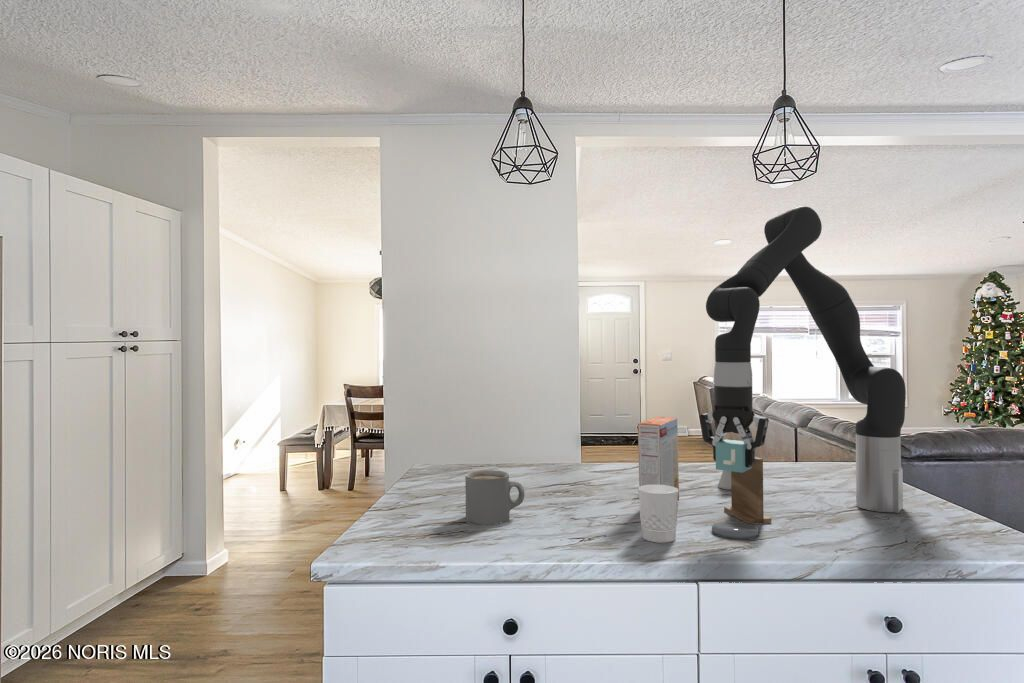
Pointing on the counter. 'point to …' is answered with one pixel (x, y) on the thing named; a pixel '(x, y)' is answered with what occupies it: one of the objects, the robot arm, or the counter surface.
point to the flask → (725, 480)
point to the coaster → (734, 530)
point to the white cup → (658, 512)
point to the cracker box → (658, 452)
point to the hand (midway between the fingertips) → (733, 464)
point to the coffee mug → (490, 496)
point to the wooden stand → (748, 494)
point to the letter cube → (731, 456)
